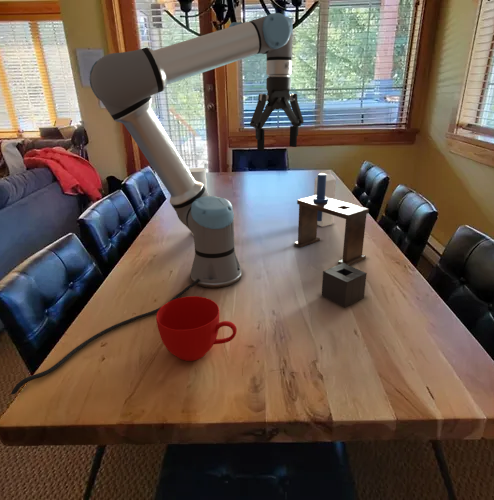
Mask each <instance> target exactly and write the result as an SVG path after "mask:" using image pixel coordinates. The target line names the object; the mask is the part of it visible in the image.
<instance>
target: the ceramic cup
mask: <svg viewBox="0 0 494 500" xmlns="http://www.w3.org/2000/svg"><path fill="white" fill-rule="evenodd" d="M169 301H170V300H169ZM169 301H167V302H166V303H164V304H163V305H162V306H160V307H161V308H160V307H159V308H160V309H159V310H158V312H157V313H156V314H155V315H156V316H155V321H156V322H155V323H156V326H157V331H158V334H159V337H160V339H161V341H162V344H163V346H164V347H165V348H166V349H167V351H168V352H169V353H171V354H172V355H173V356H175V357H176V358H178V359H180V360H182V361H186V362H195V361H198V360H199V359H202V358H203V357H204V356H205V355H206V354H207V353H208V352H210V350H211V349H212V347H213V346H214V345H221V344H227V343H229V342H231V341H232V340H234V338H235V337H236V335H237V333H238V329H237V326H236V324H235V323H233V321H230V320H223V321H220V308H219V305H218V303H217V302H216V301H214V300H212V299H210V298H208V297H204V296H200V295H199V296H198V295H191V296H189V295H188V296H180V297H179V298H177V299H174V300H172V301H170V302H169ZM222 327H229V328H230V329H231V330H232V334H231V335H230V336H228V337H225V338H218V334H219V329H221V328H222Z"/></svg>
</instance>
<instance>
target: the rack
mask: <svg viewBox="0 0 494 500" xmlns="http://www.w3.org/2000/svg"><path fill="white" fill-rule="evenodd" d="M316 196H317V195H315V196H314V195H311V196H308V197H302V198H300V199H299V198H298V199H296V204H297V205H298V225H297V230H298V231H297V241H294V242H293V245H294V246H296V247H298V248H303V247H306V246H309V245H312V244H315V243H317V242H320V241H321V238H320V237H317V236H318V225H317V213H318V211H321V212H324V213H328V214H331V215H333V217H334V216H335V217H338V218H341V219H345V225H344V226H345V227H344V236H343V250H342V259H340V260H338V262H337V265H339V264H341V263H344V264H347V265H349V266H351V265H355V264H357V263H359V262H361V261H363V260H365V259H366V258H367V256H366V255H364V254H363V250H364V242H365V231H366V224H367V215H368V214H369V212H370V208H368V207H365V206H361V205H357V204H353V203H350V202H346V201H342V200H338V199H336V198H335V199H331V198H328V202H326V203H317V202H314V201H313V197H316Z"/></svg>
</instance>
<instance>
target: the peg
mask: <svg viewBox="0 0 494 500" xmlns="http://www.w3.org/2000/svg"><path fill="white" fill-rule="evenodd" d="M317 177H318V180H317V196H316V197H313V201H314V202H317V203H326V202H328V197H325V190H326V174H323V173H320V172H319V173H318V174H317ZM317 221H322V212H321V211H318V213H317Z"/></svg>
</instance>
